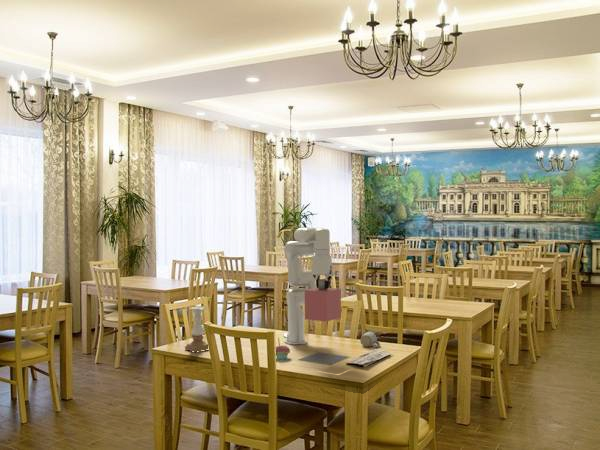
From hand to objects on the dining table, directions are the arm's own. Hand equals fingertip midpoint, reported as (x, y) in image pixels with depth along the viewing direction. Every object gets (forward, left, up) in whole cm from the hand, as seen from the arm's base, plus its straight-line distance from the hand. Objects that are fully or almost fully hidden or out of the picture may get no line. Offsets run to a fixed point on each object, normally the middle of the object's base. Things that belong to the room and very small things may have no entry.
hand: (322, 287), depth 304 cm
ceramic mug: (+6, +41, -38) cm, 56 cm away
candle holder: (-72, -18, -37) cm, 83 cm away
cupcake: (-19, -11, -37) cm, 43 cm away
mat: (0, 0, -37) cm, 37 cm away
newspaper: (+21, +11, -38) cm, 45 cm away
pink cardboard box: (0, 0, -16) cm, 16 cm away
